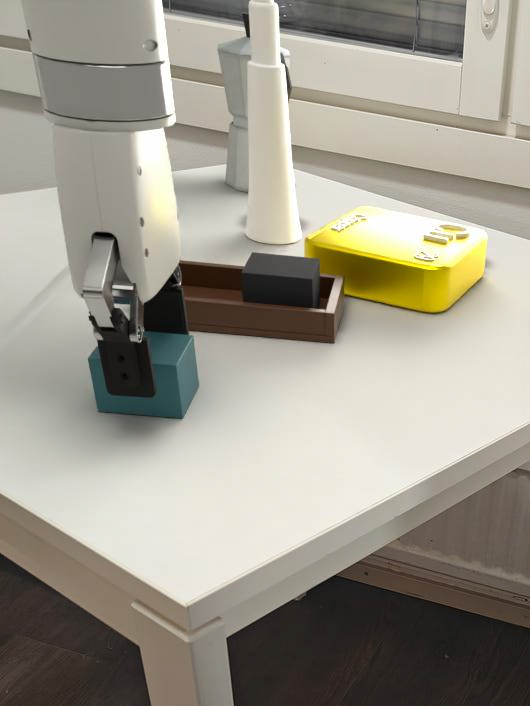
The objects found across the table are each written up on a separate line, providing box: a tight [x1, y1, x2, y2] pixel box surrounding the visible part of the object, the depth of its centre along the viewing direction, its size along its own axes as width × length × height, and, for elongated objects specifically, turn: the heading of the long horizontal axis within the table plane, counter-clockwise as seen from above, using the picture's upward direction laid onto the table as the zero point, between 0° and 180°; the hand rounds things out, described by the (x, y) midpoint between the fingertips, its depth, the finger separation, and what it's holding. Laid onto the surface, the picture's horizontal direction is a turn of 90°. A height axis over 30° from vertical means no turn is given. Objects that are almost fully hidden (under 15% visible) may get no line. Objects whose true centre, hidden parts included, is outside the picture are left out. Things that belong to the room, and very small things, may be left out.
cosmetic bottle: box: [245, 0, 303, 245], centre depth 90 cm, size 6×6×22 cm
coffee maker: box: [216, 11, 297, 193], centre depth 106 cm, size 15×9×18 cm, turn 34°
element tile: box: [303, 205, 488, 314], centre depth 89 cm, size 15×15×5 cm
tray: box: [174, 259, 345, 344], centre depth 79 cm, size 17×10×3 cm, turn 91°
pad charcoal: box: [241, 251, 320, 309], centre depth 79 cm, size 6×6×4 cm
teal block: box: [87, 330, 200, 419], centre depth 65 cm, size 6×6×4 cm
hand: (151, 365), depth 64 cm, fingers open, 9 cm apart
